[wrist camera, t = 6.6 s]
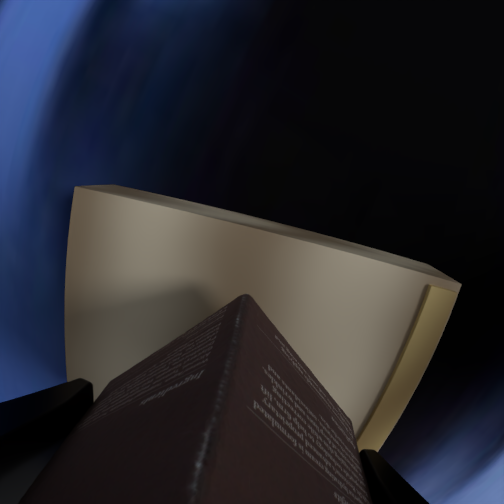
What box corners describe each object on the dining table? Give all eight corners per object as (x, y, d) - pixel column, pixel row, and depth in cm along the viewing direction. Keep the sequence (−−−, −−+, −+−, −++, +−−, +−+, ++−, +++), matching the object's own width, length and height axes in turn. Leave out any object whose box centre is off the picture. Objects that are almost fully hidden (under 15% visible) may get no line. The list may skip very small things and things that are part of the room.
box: (108, 375, 10) (-13, 529, 3) (250, 283, 9) (173, 558, 2) (218, 479, 10) (183, 633, 3) (356, 421, 9) (401, 615, 2)
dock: (427, 264, 13) (464, 286, 9) (342, 450, 15) (351, 491, 12) (113, 184, 13) (71, 186, 10) (97, 388, 15) (69, 421, 12)
